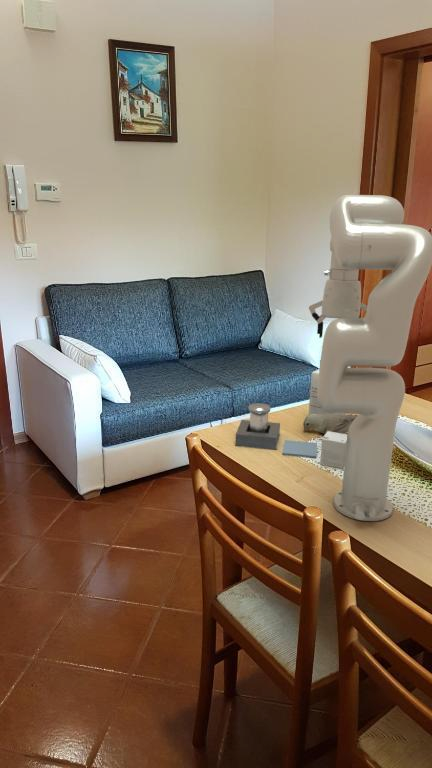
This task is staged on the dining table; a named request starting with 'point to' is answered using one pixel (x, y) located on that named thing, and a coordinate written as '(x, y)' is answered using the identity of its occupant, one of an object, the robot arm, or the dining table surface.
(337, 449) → the skincare box
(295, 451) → the mat
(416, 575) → the dining table surface
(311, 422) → the decorative bird
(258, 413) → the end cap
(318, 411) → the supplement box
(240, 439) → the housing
